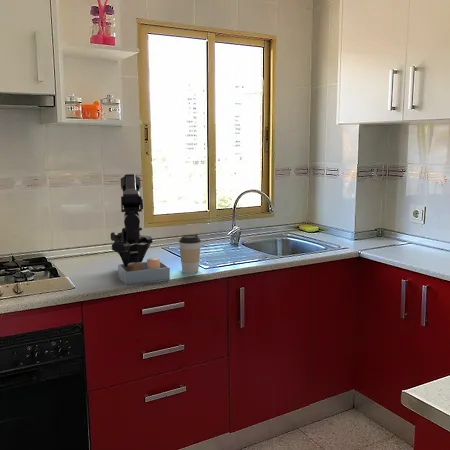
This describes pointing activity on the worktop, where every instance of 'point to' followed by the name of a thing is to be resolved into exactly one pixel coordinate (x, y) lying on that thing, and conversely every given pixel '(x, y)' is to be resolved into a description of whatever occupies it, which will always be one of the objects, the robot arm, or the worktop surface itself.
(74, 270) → the worktop surface
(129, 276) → the tote
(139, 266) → the cube
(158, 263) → the pink rectangular block
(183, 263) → the coffee cup
